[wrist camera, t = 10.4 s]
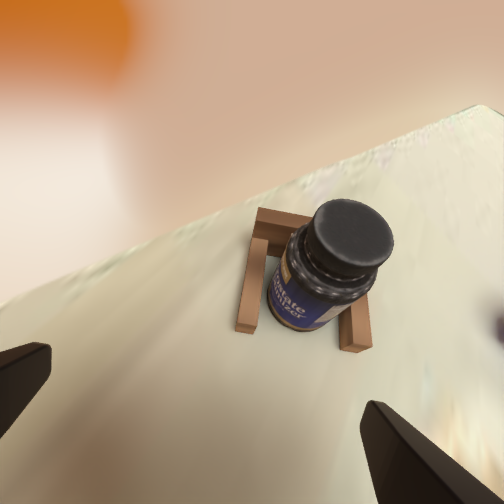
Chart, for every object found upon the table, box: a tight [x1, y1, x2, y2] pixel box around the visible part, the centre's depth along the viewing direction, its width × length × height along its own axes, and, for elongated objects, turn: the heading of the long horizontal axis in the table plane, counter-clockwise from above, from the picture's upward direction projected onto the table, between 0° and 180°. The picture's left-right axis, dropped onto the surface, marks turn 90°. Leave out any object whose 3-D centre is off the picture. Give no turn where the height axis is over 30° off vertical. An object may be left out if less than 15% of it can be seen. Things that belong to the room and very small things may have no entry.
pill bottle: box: [267, 199, 394, 332], centre depth 19 cm, size 6×6×11 cm
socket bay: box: [235, 207, 373, 353], centre depth 22 cm, size 10×10×5 cm
